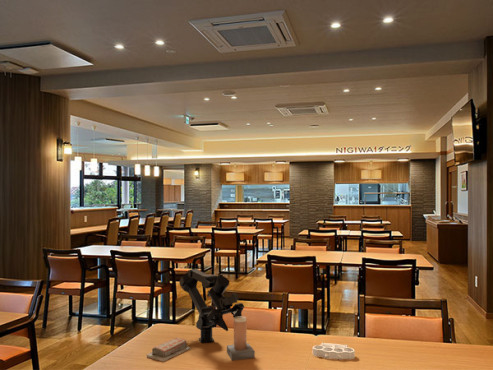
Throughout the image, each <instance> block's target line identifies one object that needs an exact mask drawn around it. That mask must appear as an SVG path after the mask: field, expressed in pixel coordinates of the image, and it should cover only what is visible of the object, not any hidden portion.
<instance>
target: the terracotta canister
mask: <svg viewBox="0 0 493 370" xmlns="http://www.w3.org/2000/svg"><path fill="white" fill-rule="evenodd" d="M247 325H248V324H247V317H246V316H237V317H233V345H234V349H235V350H245V349H246V348H247V343H248V342H247V340H248V339H247V338H248V337H247V336H248V335H247V333H248V331H247V330H248V329H247V327H248V326H247Z"/></svg>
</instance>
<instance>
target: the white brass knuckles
mask: <svg viewBox="0 0 493 370" xmlns="http://www.w3.org/2000/svg"><path fill="white" fill-rule="evenodd" d="M355 352H356V351H355V349H354V348H352V347H349V345H348V344H338V343H330V342H329V343H328V342H327V343H326V342H321V343H320V344H315V345H314V346H312V356H315V357H321V358H324V359H327V360H328V359H329V360H337V359H339V360H354V359H355V358H356V355H355V354H356V353H355Z"/></svg>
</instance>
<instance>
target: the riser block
mask: <svg viewBox="0 0 493 370" xmlns="http://www.w3.org/2000/svg"><path fill="white" fill-rule="evenodd" d="M226 353H227V355H228V357H229V358H230V359H231V361H239V360H247V359H248V360H249V359H255V354H256V353H255V349H254V348H253V347H252V346H251V344H250V343H249V342H247V348H246V349H245V350H235V349H234V344H228V345H226Z"/></svg>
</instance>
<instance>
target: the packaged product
mask: <svg viewBox="0 0 493 370" xmlns="http://www.w3.org/2000/svg"><path fill="white" fill-rule="evenodd" d="M151 350H152V351H151V352H149V353H147V354H146V358H149V359H152V360H156V361H160V362H166V361H168V360H170V359H172V358H174V357H176V356H179V355H180V354H183V353H185V352H186V351H189V350H191V346H188V343H187V340H186V339H185V338H181V337H180V338H179V337H175V338H173V339H170V340H168V341H165V342H163V343H161V344H158V345H156V346H154V347H152V349H151Z"/></svg>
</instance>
